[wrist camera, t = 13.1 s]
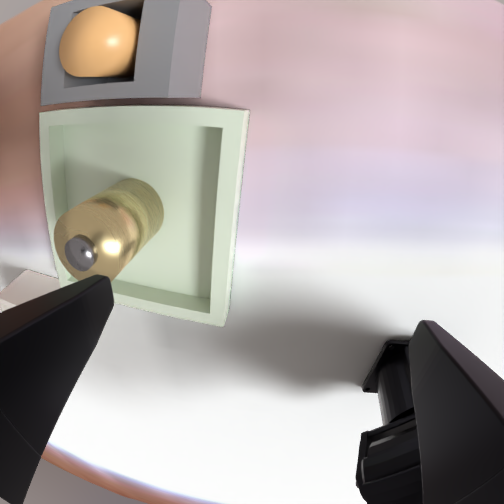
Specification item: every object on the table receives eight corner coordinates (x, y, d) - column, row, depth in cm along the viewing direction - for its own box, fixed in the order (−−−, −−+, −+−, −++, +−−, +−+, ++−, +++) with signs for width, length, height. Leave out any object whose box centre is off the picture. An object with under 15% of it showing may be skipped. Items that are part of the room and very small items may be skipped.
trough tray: (229, 308, 23) (223, 327, 21) (74, 274, 24) (60, 288, 22) (250, 110, 16) (244, 110, 14) (59, 109, 17) (39, 112, 15)
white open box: (81, 330, 27) (56, 363, 23) (40, 315, 27) (15, 343, 23) (68, 281, 24) (36, 313, 20) (26, 269, 25) (-5, 296, 20)
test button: (153, 76, 14) (115, 72, 11) (99, 80, 14) (56, 80, 11) (160, 17, 12) (125, -1, 9) (106, 24, 13) (64, 14, 9)
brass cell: (164, 181, 18) (109, 220, 13) (164, 244, 20) (118, 300, 15) (106, 175, 19) (41, 210, 13) (109, 235, 21) (55, 283, 15)
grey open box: (200, 97, 16) (168, 97, 12) (90, 99, 17) (40, 105, 12) (211, 6, 13) (184, -22, 9) (98, 18, 14) (51, 7, 10)
